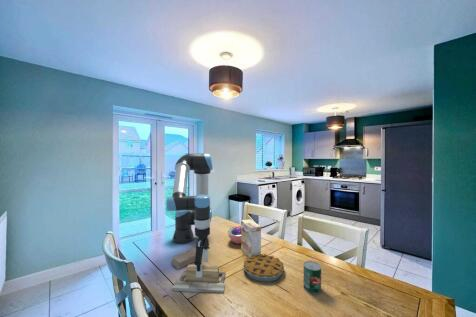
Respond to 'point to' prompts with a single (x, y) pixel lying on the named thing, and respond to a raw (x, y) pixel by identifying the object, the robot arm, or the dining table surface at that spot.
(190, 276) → the plank
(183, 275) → the floor panel
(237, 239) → the cell model
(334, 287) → the dining table surface
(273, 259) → the pie
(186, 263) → the brick
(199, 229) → the robot arm
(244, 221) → the coffeecake box
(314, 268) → the canned tomato
